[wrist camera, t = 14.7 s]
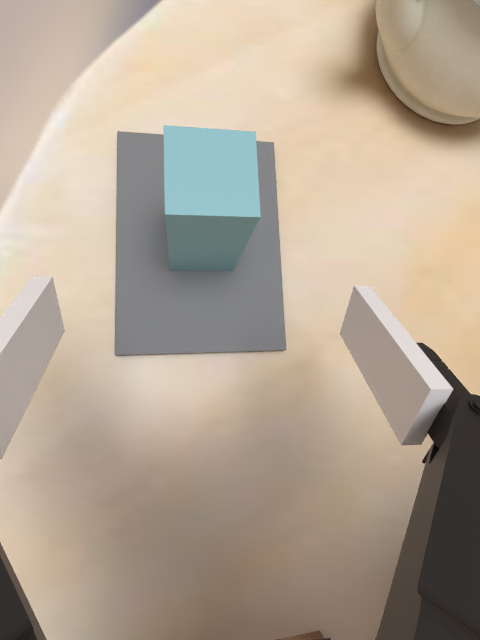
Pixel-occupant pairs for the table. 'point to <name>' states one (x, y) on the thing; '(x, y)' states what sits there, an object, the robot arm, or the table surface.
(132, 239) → the mat
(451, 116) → the kettle
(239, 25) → the table surface
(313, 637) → the rail
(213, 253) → the block
